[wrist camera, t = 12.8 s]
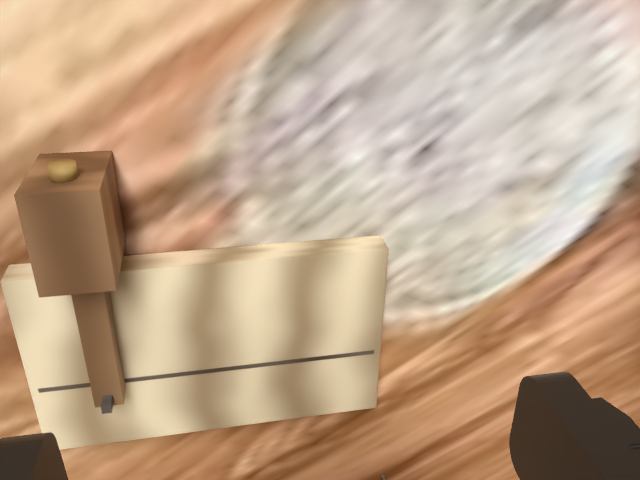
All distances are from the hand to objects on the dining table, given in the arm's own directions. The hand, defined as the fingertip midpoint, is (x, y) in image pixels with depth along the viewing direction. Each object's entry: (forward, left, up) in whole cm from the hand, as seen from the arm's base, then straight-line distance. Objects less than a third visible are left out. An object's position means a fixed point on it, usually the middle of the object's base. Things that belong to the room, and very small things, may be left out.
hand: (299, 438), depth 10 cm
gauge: (+9, +12, -28) cm, 31 cm away
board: (+2, +18, -28) cm, 33 cm away
